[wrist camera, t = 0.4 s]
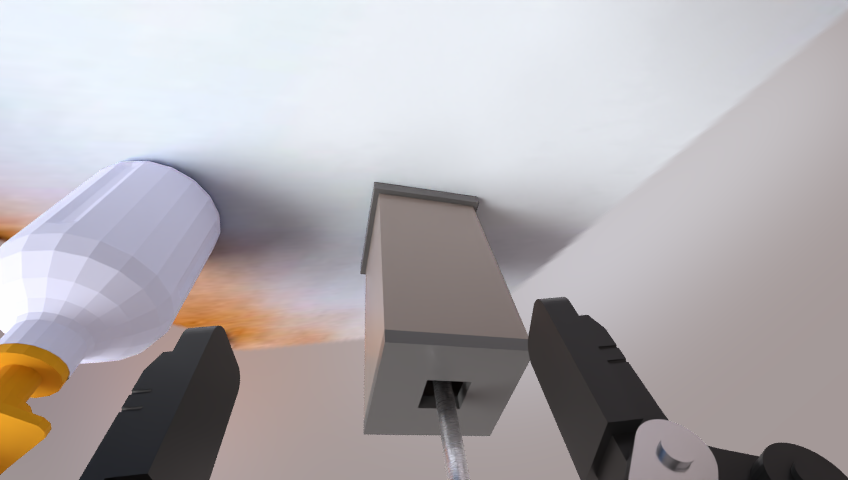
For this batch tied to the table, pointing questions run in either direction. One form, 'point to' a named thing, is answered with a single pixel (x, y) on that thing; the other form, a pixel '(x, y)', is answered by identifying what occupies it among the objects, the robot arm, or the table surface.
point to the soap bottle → (95, 283)
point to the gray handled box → (435, 315)
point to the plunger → (450, 432)
